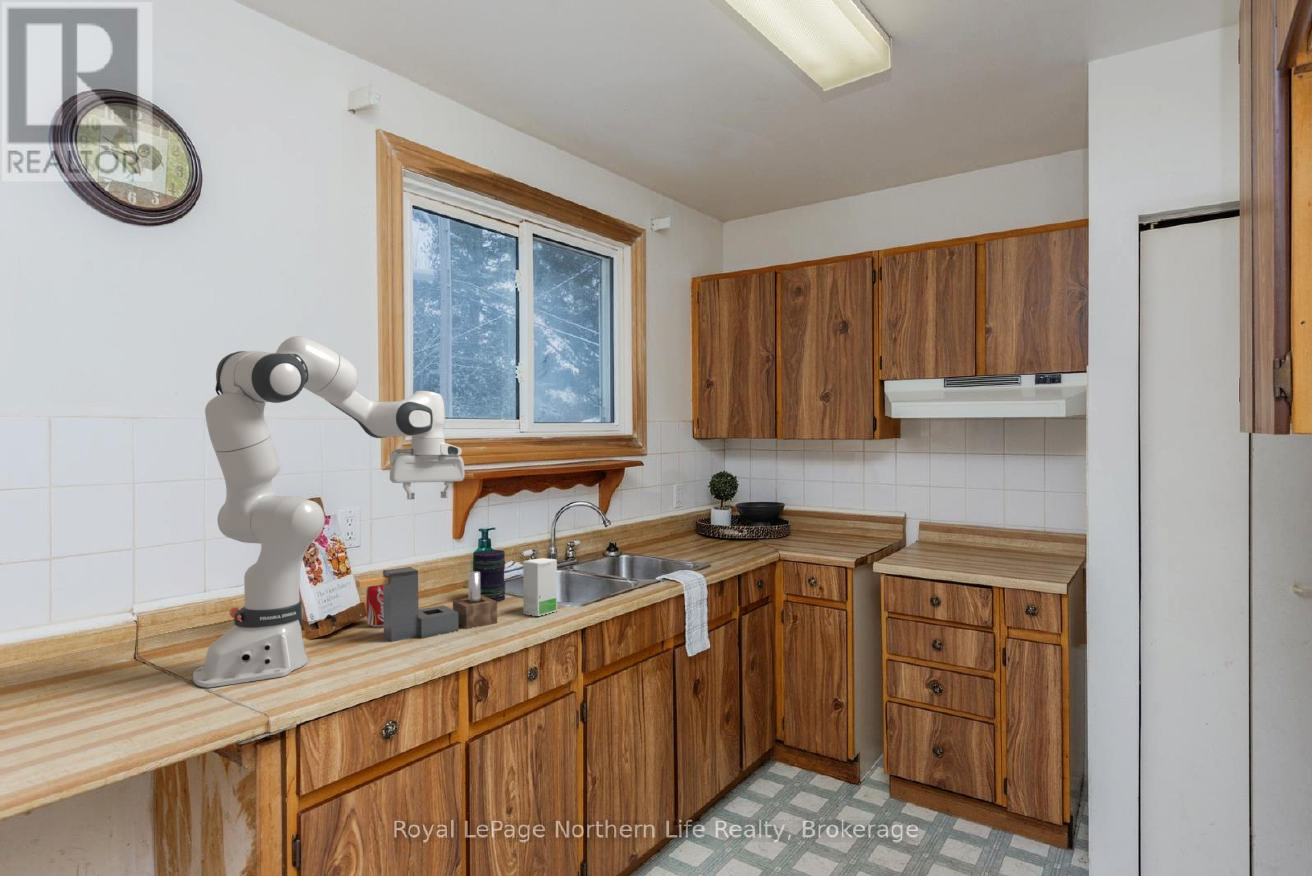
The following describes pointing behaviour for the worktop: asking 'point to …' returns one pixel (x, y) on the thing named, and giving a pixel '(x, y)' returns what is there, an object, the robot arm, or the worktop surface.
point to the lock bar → (372, 582)
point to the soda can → (375, 606)
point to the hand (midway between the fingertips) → (427, 498)
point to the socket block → (412, 609)
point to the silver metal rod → (474, 587)
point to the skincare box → (539, 586)
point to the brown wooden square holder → (476, 612)
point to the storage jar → (491, 573)
